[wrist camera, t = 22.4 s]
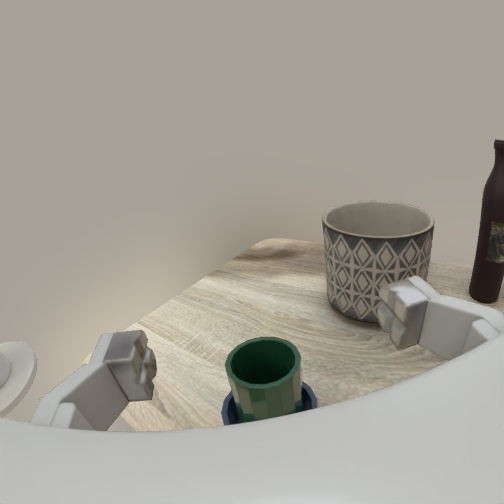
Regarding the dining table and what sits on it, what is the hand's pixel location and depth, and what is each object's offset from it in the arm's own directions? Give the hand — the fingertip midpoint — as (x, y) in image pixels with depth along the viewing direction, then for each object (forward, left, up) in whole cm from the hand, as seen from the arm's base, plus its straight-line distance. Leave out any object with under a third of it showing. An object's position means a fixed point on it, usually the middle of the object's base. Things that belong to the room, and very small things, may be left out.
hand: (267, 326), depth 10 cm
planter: (+36, +20, -26) cm, 49 cm away
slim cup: (+6, +11, -25) cm, 28 cm away
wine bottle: (+52, +2, -26) cm, 59 cm away
